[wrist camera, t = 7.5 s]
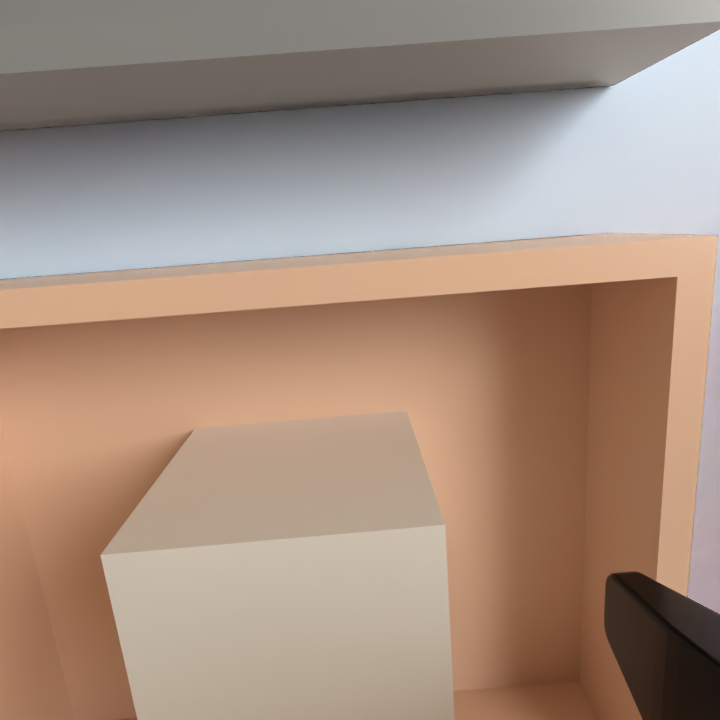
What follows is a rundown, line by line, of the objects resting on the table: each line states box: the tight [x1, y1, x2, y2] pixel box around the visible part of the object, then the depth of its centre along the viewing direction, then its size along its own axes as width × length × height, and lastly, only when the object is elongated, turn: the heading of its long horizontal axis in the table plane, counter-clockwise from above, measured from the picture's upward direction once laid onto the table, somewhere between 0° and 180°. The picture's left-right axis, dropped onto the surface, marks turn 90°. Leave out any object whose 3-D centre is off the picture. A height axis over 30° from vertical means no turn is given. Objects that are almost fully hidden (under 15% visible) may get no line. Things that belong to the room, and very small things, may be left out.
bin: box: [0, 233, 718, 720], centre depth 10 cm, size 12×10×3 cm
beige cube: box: [100, 410, 455, 720], centre depth 9 cm, size 4×4×4 cm
